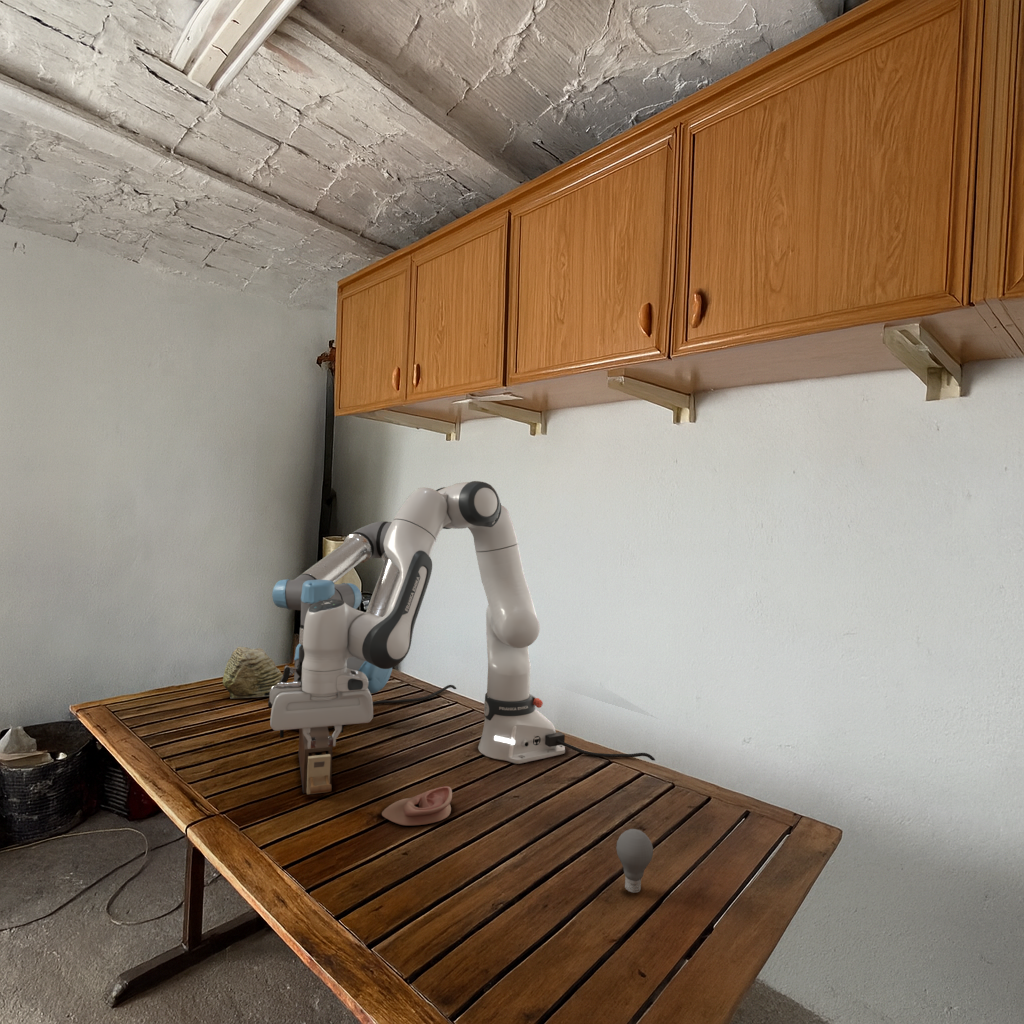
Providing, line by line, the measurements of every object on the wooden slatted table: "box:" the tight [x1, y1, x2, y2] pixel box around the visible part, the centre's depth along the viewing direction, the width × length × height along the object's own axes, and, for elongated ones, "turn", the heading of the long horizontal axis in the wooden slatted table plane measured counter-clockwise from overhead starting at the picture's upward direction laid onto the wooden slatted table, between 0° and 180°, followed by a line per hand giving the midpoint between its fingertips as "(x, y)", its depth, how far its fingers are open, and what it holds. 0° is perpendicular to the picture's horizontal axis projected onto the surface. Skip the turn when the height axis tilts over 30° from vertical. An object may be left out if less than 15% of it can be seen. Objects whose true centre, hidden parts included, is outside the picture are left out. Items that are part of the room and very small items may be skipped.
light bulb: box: [615, 828, 654, 894], centre depth 106 cm, size 6×6×10 cm
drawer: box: [306, 751, 333, 795], centre depth 140 cm, size 27×4×8 cm, turn 21°
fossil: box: [222, 646, 283, 699], centre depth 198 cm, size 9×18×15 cm, turn 132°
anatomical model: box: [381, 785, 453, 827], centre depth 129 cm, size 13×4×12 cm
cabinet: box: [298, 726, 333, 794], centre depth 146 cm, size 22×6×10 cm, turn 21°
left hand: (311, 733), depth 152 cm, fingers open, 13 cm apart
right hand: (321, 746), depth 130 cm, fingers open, 3 cm apart
